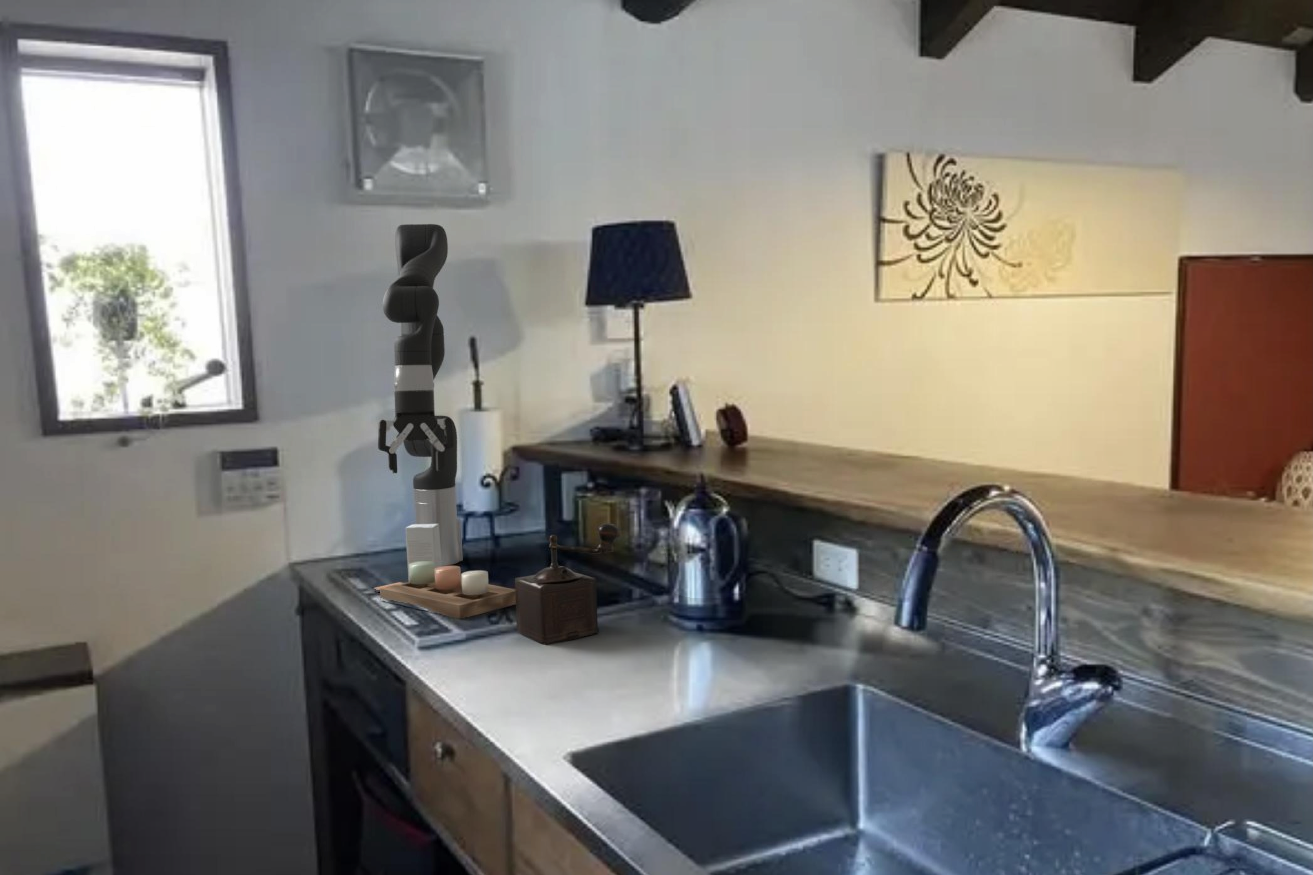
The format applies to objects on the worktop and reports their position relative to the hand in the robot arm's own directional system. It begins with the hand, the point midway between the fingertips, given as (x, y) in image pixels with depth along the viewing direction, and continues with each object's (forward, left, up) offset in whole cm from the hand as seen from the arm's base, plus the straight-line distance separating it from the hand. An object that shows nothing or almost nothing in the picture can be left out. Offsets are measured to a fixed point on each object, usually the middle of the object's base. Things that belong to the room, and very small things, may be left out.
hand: (417, 471), depth 207 cm
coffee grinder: (+3, +45, -24) cm, 51 cm away
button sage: (+2, +3, -21) cm, 21 cm away
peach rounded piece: (+2, +11, -21) cm, 24 cm away
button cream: (+2, +19, -21) cm, 28 cm away
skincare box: (-6, -7, -24) cm, 26 cm away
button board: (+2, +11, -24) cm, 26 cm away
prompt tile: (+2, -6, -24) cm, 25 cm away
